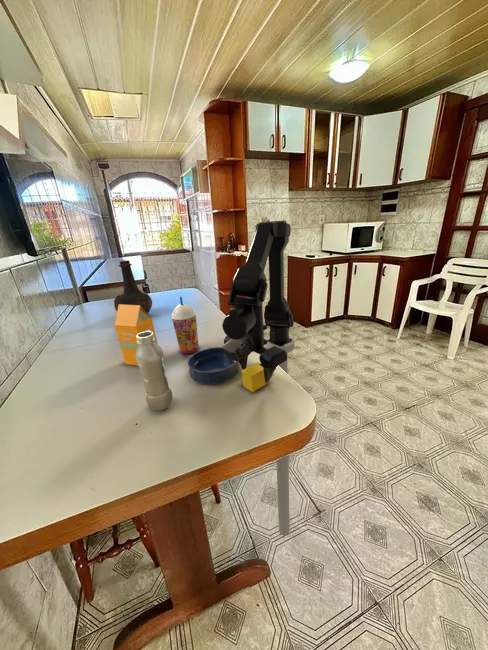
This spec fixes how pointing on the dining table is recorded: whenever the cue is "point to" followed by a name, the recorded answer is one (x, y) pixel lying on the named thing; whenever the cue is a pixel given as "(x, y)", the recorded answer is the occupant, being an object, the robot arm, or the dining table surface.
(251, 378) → the sponge
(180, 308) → the smoothie
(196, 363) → the bowl
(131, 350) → the orange juice
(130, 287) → the glass bottle
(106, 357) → the dining table surface
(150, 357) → the plastic bottle
